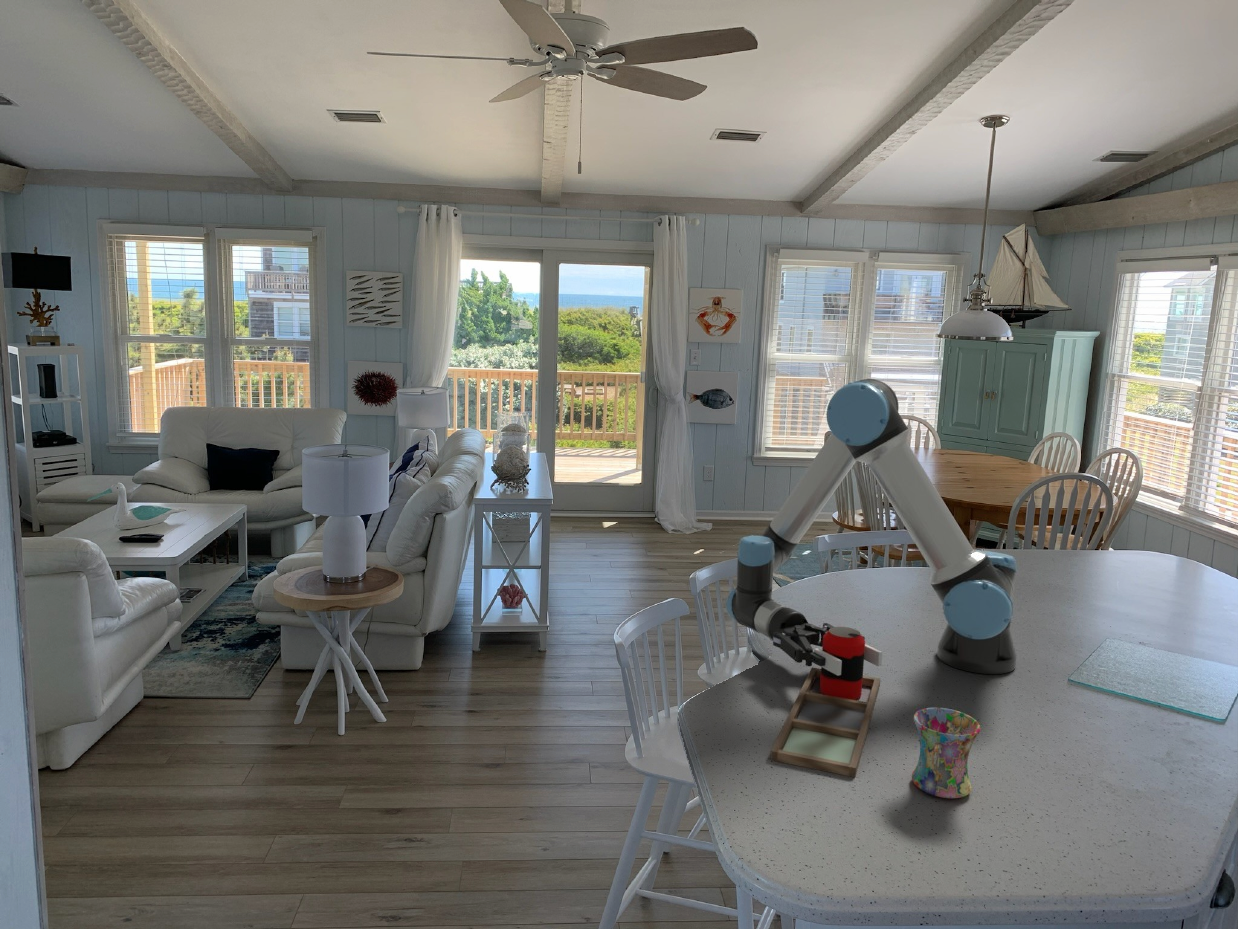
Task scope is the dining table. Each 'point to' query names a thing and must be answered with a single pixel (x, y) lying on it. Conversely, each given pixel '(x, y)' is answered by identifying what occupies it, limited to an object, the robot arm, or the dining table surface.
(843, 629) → the soda can
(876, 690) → the frame
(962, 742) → the mug
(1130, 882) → the dining table surface
